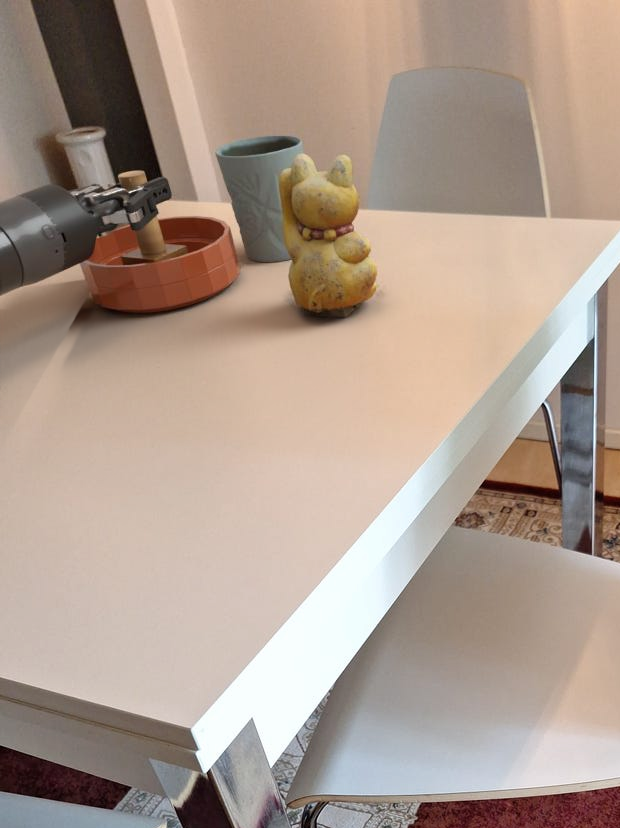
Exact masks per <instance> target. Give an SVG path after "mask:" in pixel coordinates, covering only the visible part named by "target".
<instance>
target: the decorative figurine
mask: <svg viewBox="0 0 620 828" xmlns="http://www.w3.org/2000/svg"><path fill="white" fill-rule="evenodd" d="M353 165H354V164H353V161H352V159H351V158H350V156H348V155H347V154H340V155H338V156H336V157H335V158H334V159H333V161H332V162H331V164H330V165H329V168H328V170H327V171H318V170H317V168H316V165H315V162H314V161H313V159H312V158H311V157H310V156H309V155H308V154H305V153H304V152H303V153H301V154H298V155H297V156H295V158H294V159H293V163H292V167H291V168H287V169H284V170H283V171H282V172H281V173H280V175H279V192H280V199H281V207H282V226H283V236H284V241H285V245H286V249H287V251H288V253H289V255H290V257H291V259H290V260H291V263H290V264H289V268H288V275H287V276H288V282H289V287H290V290H291V293H292V296H293V298H294V302H295V304H296V305H297V306H298V307H300V308H303V309H304V316H307V317H308V316H309V317H310V316H314V317H315V316H317V317H331V318H347V316H349V315H350V314H351V313H352V312H353V311H354V310H355V309H359V308H360V307H361V305H363V304H364V302H366V301H368V300H370V299H371V298H372V297H373V296H374V294H375V293H376V291H377V287H378V285H377V283H376V280H377V276H378V268H377V264H376V262H375V261H374V259H373V258H372V257H371V256H369V255H370V253H371V251H372V247H371V243H370V240H369V239H368V238H366V237H365V236H364V235H363V236H362V235H360V233H357V232H356V231H355V230H354V229H355V226H354V224H353V222H354V220H355V219H356V218H357V216H358V214H359V213H358V212H359V208H360V195H359V194H358V192H357V189H356V187H355V186H354V182H353V181H354V166H353Z"/></svg>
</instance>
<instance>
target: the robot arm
mask: <svg viewBox="0 0 620 828" xmlns="http://www.w3.org/2000/svg"><path fill="white" fill-rule="evenodd" d="M169 182H170V181H169V180H168V178H167V177H165V176H159V177H157V178H153V179H152V180H149V181H147V182H146V183H144V184H142V185H137V186H135V187H133V188H130V189H127V190H126V189H123V188H121V184H120V182H118V183H114V182H113V183H112V182H108V183H106V184H105V185H103V186H102V185H100V184H99V183H98V184H97V183H93V184H91V185H90V184H89V185H87V186H82V187H79V188H74V189H71V190H68V189H65V188H64V187H62V186H60V185H56V184H50V183H49V184H45V185H42V186H39V187H37V188H33V189H31V190H28V191H26V192H23V193H20V194H17V195H15V196H13V197H10V198H7V199H5V200H1V201H0V297H1V296H4V295H6V294H8V293H10V292H12V291H14V290H17V289H19V288H23V287H27V286H30V285H34V284H37V283H39V282H42V281H44V280H46V279H48V278H51V277H54V276H56V275H58V274H60V273H62V272H64V271H66V270H68V269H70V268H73V267H75V266H77V265H80V263H82V262H84V261H86V260H88V259H89V258H90V257H91V256H92V254H93V252H94V249H95V243H96V238H97V236H98V237H103V236H107V235H110V234H112V233H114V231H115V230H116V229H118V228H121V227H124V226H126V225H129V224H130V227H131V230H133V231H139V230H140V229H142V228H143V227H145V226H146V225H147V224H148V223H149V222H150V221H151V220H152V219H153V218H154V217H156V216H157V217H158V215H159V214H160V212H159V208H158V207H157V205H159V204H162V203H164V202H166V201H168V200H171V199H172V196H173V194H172V193H173V192H172V189H171V186H170V183H169ZM131 196H133V197H132V198H131V199H130V197H131Z"/></svg>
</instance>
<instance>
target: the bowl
mask: <svg viewBox="0 0 620 828" xmlns="http://www.w3.org/2000/svg"><path fill="white" fill-rule="evenodd" d="M158 222H159V225H160V229H161V233H162V236H163V240H164V243H165V244H172V245H183V246H186V247H187V251H188V254H185V255H182V256H179V257H175V258H171V259H167V260H162V261H158V262H152V263H144V264H136V265H123V263H122V259H121V256H123V255H125V254H128V253H130V252H132V251H135V250H137V249H139V245H138V241H137V238H136V235H135V231H133V230H131V227H130V225H126V226H124V227H121V228H118V229H116V230H115V231H114V233H112V234H110V235H107V236H103V237H98V236H97V238H96V243H95V249H94V252H93V254H92V256H91V257H90V258H89V259H88V260H86V261H84V262H82V263H80V264H79V266H80V268H81V270H82V275H83V276H84V279H85V282H86V285H87V288H88V290H89V293H90V296H91V299H92V301H93V303H95V304H97V305H99V306H101V307H103V308H106V309H112V310H115V311H117V312H118V311H119V312H122V313H130V314H131V313H132V314H147V313H158V312H165V311H171V310H176V309H180V308H184V307H188V306H191V305H195V304H198V303H200V302H203V301H206V300H208V299H211V298H212V297H214V296H216V295H218V294H219V293H221V292H222V291H224V290H225V289H226V288H227V287H228V286H229V285H231V284H232V283H233V282H234V281H235V280H236V279H238V277H239V275H240V271H241V266H240V262H239V258H238V253H237V248H236V245H235V241H234V238H233V234H232V228H231V226H230V225H229V224H228V223H227V222H226V221H225V220H222V219H219V218H215V217H211V216H203V215H202V216H201V215H183V216H168V217H161V218H158Z"/></svg>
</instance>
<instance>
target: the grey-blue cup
mask: <svg viewBox="0 0 620 828" xmlns="http://www.w3.org/2000/svg"><path fill="white" fill-rule="evenodd" d="M214 153H215V157H216V160H217V163H218V166H219V168H220V173H221V175H222V179H223V183H224V184H225V187H226V190H227V193H228V195H229V197H230V200H231V202H230V203H231V205H230V206H231V207H232V211H233V214H234V218H235V221H236V224H237V225H238V228H239V234H240V237H241V241H242V244H243V248H244V252H245V255H246V257H247V259H249V260H251V261H254V262H258V263H277V262H283V261H288V260H289V261H290V260H292V259H291V257H290V255H289V253H288V251H287V249H286V245H285V241H284V236H283V226H282V207H281V199H280V192H279V175H280V173H281V172H282V171H283V170H284V169H287V168H291V167H292V163H293V159H294V158H295V156H297V155H298V154H301V153H303V154H304V147H303V141H302V139H301V138H300V137H298V136H292V135H263V136H257V137H256V136H255V137H249V138H244V139H243V138H242V139H239V140H235V141H233V142H229V143H226V144H223V145H221V146H219V147H218V148H217V149H216V150H215V152H214Z"/></svg>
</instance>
